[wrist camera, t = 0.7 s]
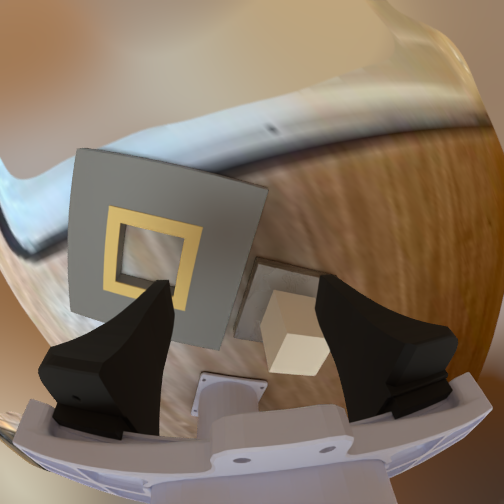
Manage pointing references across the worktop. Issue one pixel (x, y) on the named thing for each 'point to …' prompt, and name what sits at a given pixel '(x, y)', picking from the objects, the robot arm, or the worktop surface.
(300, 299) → the peg
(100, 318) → the hole board
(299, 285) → the tab
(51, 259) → the worktop surface
